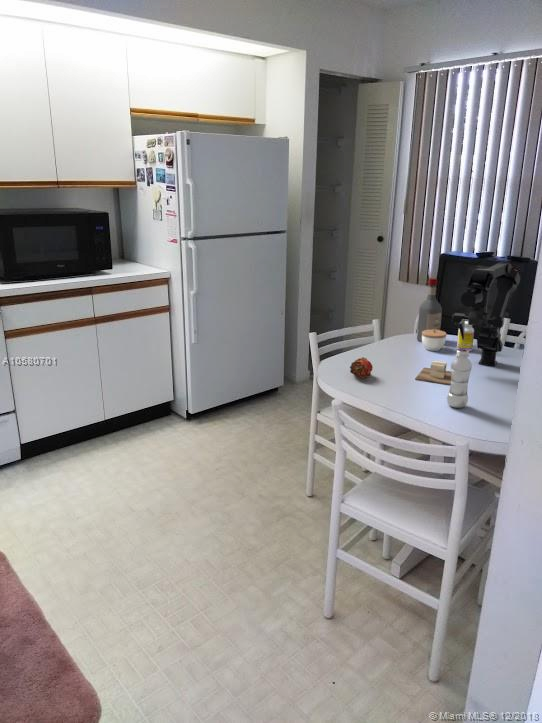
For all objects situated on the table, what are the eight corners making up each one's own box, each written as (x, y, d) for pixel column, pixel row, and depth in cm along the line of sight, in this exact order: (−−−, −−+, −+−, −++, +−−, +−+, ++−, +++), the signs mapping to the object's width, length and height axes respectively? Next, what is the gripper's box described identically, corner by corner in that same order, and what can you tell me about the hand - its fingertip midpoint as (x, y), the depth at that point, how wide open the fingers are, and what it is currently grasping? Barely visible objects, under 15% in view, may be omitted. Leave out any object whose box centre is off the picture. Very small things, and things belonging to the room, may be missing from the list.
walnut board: (423, 368, 217) (424, 367, 217) (459, 374, 210) (459, 372, 210) (415, 379, 205) (415, 378, 205) (452, 385, 199) (452, 384, 199)
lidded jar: (416, 346, 246) (417, 327, 243) (437, 344, 248) (438, 325, 245) (428, 353, 236) (429, 333, 233) (449, 351, 239) (451, 331, 235)
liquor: (441, 341, 253) (447, 279, 243) (428, 344, 249) (433, 281, 239) (427, 337, 260) (432, 276, 251) (413, 340, 256) (418, 278, 246)
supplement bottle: (473, 352, 237) (476, 324, 233) (457, 351, 238) (460, 323, 234) (470, 347, 243) (473, 320, 239) (455, 347, 244) (458, 320, 240)
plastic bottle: (443, 403, 184) (448, 348, 177) (462, 402, 184) (468, 347, 178) (450, 410, 178) (456, 353, 171) (470, 409, 178) (477, 353, 172)
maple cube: (432, 372, 211) (433, 360, 209) (445, 374, 209) (446, 362, 207) (429, 376, 207) (430, 364, 205) (442, 378, 204) (444, 366, 203)
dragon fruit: (358, 386, 204) (359, 379, 215) (377, 374, 202) (376, 368, 213) (345, 368, 203) (347, 362, 215) (364, 356, 201) (365, 351, 213)
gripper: (450, 304, 201) (446, 343, 206) (503, 309, 192) (497, 350, 198) (456, 298, 210) (452, 336, 215) (506, 302, 202) (501, 342, 207)
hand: (475, 341), depth 209 cm, fingers open, 9 cm apart
